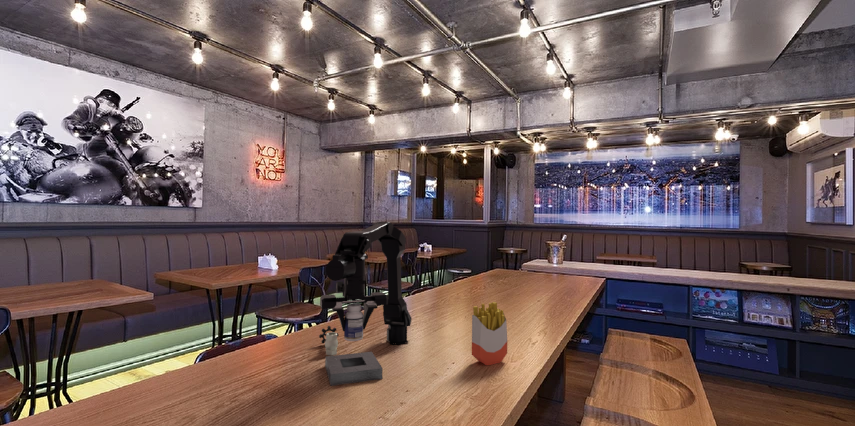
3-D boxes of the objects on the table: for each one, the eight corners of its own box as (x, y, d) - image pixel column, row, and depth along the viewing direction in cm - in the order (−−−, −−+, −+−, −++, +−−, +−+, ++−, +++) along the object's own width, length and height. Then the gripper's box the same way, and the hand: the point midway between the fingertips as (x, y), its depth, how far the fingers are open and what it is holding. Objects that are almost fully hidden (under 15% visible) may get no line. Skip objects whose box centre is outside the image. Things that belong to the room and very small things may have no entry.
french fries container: (508, 361, 122) (508, 304, 122) (480, 367, 116) (481, 307, 116) (498, 356, 125) (499, 301, 126) (471, 362, 120) (472, 304, 120)
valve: (342, 355, 125) (338, 343, 137) (342, 334, 125) (338, 324, 137) (321, 357, 123) (318, 345, 134) (321, 336, 123) (319, 326, 134)
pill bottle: (345, 335, 113) (346, 302, 114) (363, 335, 114) (364, 302, 114) (342, 341, 108) (343, 306, 108) (362, 341, 109) (362, 306, 109)
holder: (371, 361, 120) (371, 351, 120) (382, 378, 107) (382, 368, 107) (325, 366, 115) (325, 356, 115) (330, 385, 102) (330, 374, 102)
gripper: (379, 271, 122) (378, 320, 122) (318, 273, 116) (317, 325, 115) (388, 276, 112) (387, 330, 111) (322, 278, 105) (321, 336, 105)
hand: (353, 330), depth 111 cm, fingers closed on pill bottle, 5 cm apart
